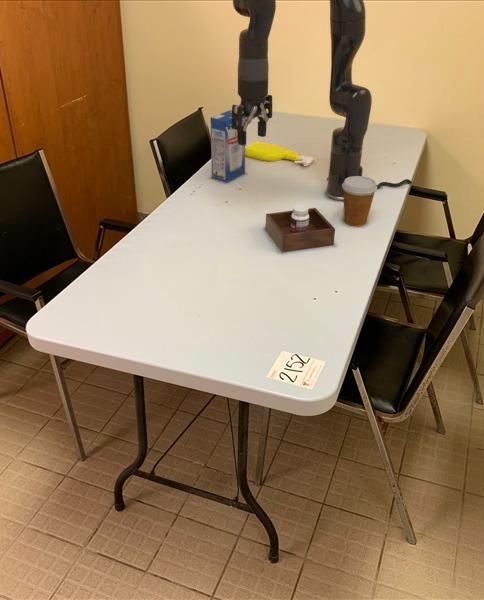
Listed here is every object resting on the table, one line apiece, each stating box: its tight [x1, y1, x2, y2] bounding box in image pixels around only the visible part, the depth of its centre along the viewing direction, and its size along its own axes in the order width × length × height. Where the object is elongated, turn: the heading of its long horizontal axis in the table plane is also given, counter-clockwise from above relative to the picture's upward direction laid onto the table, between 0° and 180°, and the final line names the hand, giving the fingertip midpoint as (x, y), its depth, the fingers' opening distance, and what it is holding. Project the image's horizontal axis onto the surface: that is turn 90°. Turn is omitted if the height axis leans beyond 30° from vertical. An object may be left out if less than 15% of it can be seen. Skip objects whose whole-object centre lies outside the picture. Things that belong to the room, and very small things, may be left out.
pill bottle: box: [290, 204, 309, 234], centre depth 161 cm, size 5×5×8 cm
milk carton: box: [210, 109, 246, 184], centre depth 193 cm, size 10×6×20 cm, turn 143°
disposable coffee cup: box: [342, 175, 378, 227], centre depth 168 cm, size 10×10×12 cm
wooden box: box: [265, 207, 336, 253], centre depth 162 cm, size 15×14×5 cm
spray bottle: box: [245, 141, 314, 167], centre depth 212 cm, size 3×11×25 cm
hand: (252, 140), depth 156 cm, fingers open, 8 cm apart
